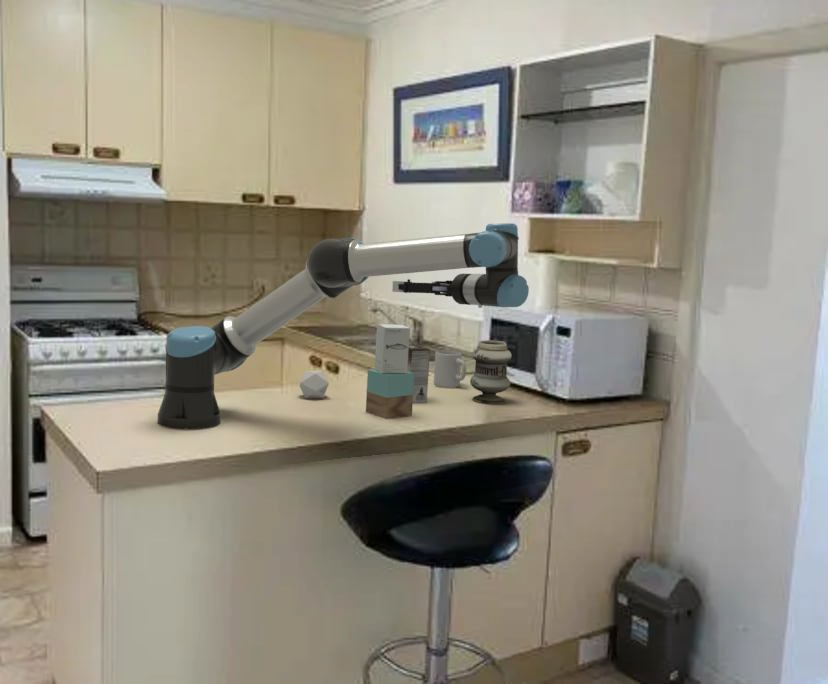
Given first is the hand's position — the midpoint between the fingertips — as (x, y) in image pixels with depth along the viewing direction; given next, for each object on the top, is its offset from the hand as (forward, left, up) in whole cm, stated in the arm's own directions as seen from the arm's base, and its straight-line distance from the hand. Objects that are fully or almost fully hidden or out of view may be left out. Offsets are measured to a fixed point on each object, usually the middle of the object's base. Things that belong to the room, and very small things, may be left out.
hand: (413, 286), depth 229 cm
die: (-6, +36, -36) cm, 51 cm away
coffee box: (+19, +21, -36) cm, 46 cm away
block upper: (+1, +9, -30) cm, 31 cm away
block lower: (+1, +9, -36) cm, 37 cm away
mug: (+44, +32, -36) cm, 65 cm away
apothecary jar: (+40, +10, -36) cm, 55 cm away
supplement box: (+1, +9, -24) cm, 26 cm away
